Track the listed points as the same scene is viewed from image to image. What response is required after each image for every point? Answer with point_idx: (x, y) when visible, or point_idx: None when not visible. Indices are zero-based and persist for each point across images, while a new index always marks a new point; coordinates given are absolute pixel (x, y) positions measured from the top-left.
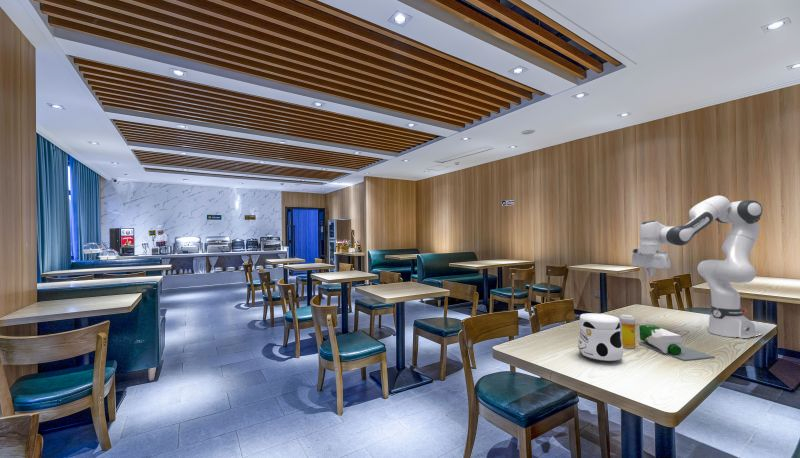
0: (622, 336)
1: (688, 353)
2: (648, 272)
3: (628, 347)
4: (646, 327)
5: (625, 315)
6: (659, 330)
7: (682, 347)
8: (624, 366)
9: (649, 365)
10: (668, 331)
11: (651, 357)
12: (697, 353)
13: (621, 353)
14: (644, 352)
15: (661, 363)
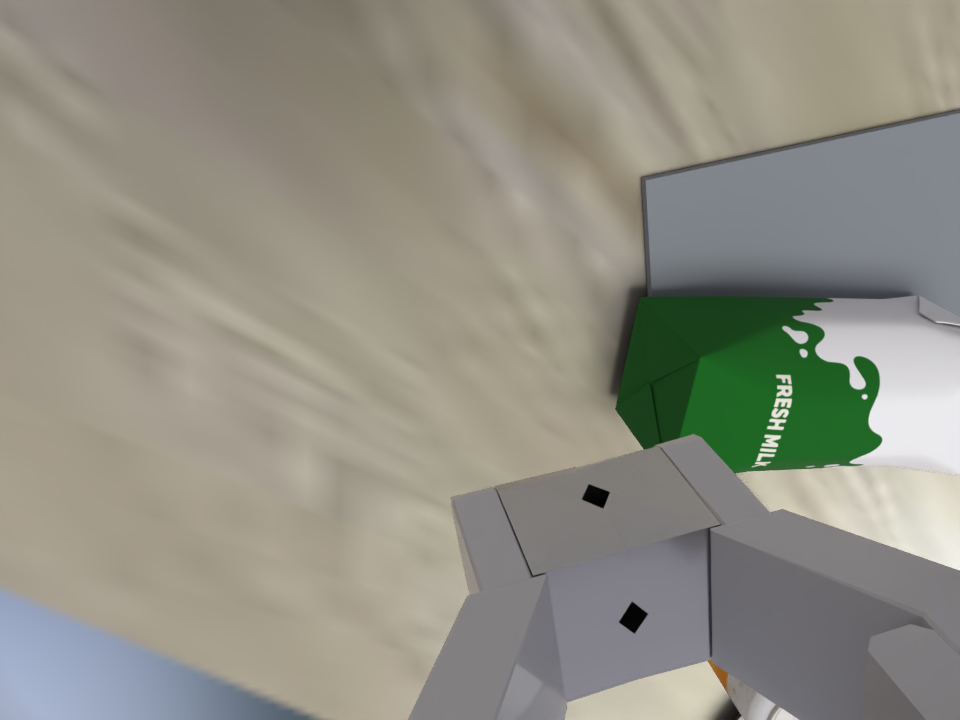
0: None
1: (921, 241)
2: (563, 675)
3: None
4: (751, 468)
5: (786, 716)
6: (898, 453)
7: (816, 179)
8: None
9: (948, 563)
10: (947, 406)
11: (870, 494)
12: (943, 173)
13: None
14: (794, 486)
15: (952, 494)
